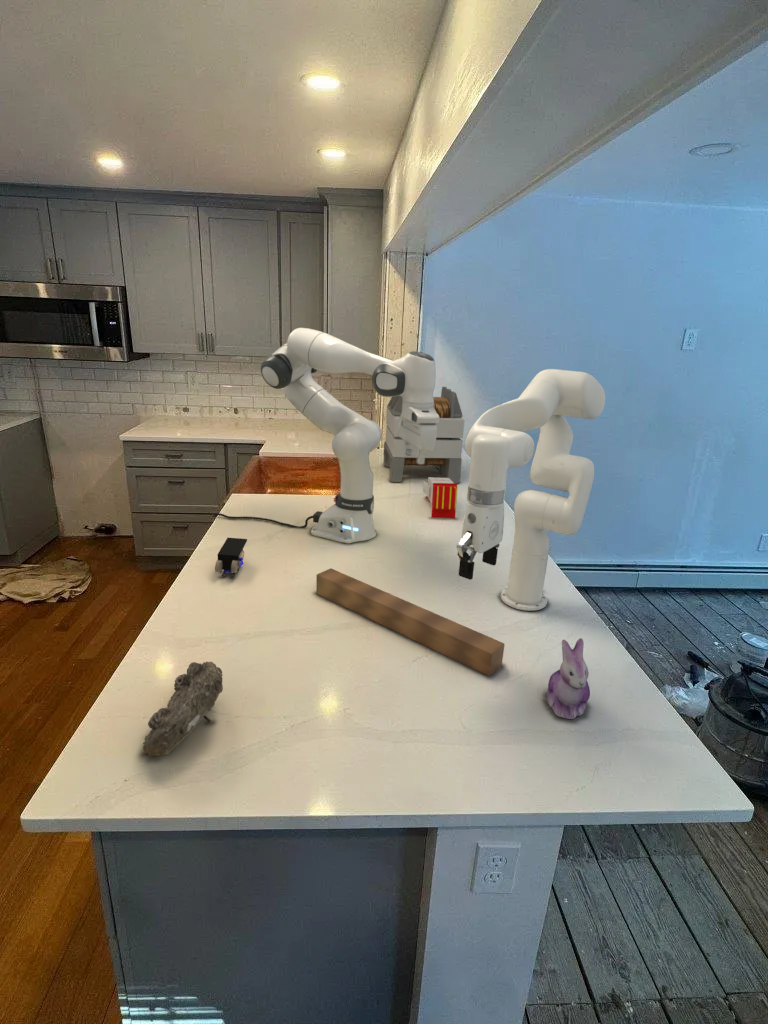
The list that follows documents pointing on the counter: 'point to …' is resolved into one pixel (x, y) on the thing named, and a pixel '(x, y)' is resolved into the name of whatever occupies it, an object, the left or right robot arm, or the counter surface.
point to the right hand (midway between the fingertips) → (477, 570)
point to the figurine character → (230, 556)
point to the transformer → (446, 440)
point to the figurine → (569, 683)
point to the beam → (413, 621)
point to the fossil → (184, 708)
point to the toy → (441, 497)
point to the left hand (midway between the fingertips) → (414, 459)
